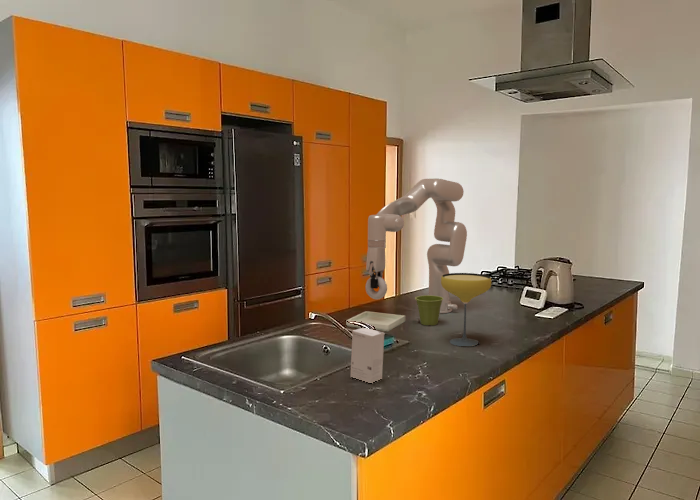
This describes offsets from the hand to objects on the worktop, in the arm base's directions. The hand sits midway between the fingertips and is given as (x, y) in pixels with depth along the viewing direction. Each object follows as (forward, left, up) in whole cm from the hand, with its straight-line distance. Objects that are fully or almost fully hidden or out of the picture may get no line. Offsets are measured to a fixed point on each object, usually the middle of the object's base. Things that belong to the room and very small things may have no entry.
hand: (376, 287), depth 222 cm
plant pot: (-20, -10, -16) cm, 28 cm away
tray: (0, 0, -16) cm, 16 cm away
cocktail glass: (-41, +11, -16) cm, 45 cm away
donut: (0, 0, -5) cm, 5 cm away
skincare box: (-25, +62, -16) cm, 69 cm away
